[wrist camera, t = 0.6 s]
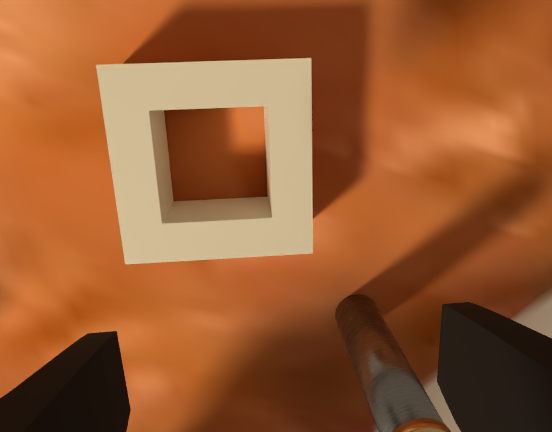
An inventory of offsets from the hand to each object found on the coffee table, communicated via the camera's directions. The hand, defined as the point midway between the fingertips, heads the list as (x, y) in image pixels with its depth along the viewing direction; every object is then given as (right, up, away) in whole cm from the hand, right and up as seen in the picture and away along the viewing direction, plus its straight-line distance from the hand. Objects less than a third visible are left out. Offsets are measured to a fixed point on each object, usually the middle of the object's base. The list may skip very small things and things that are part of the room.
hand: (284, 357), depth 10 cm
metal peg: (+4, -2, +11) cm, 12 cm away
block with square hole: (-3, +6, +9) cm, 11 cm away
